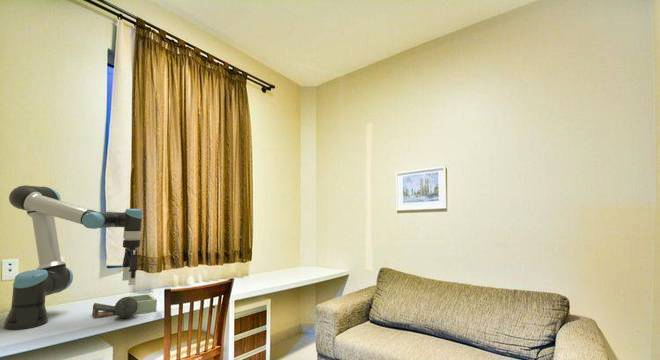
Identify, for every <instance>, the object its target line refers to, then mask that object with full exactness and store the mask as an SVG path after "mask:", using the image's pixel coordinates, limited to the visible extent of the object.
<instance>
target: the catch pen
mask: <svg viewBox="0 0 660 360" xmlns="http://www.w3.org/2000/svg"><path fill="white" fill-rule="evenodd" d="M127 297H132V298H134V299H135V300H136V301H137V303H138V308H137V311H136V312H135V314H134V315H141V314H147V313H153V312H154V313H155V312H157V301H158V299H157V298H156V297H155V296H153V295H151V294H150V293H145V294H136V295H130V296H127ZM134 315H133V316H134Z"/></svg>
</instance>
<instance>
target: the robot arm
mask: <svg viewBox="0 0 660 360" xmlns="http://www.w3.org/2000/svg"><path fill="white" fill-rule="evenodd" d="M8 200H9V201H8V202H9V203H10V204H11V206H12V207H14V208H15V209H18V210H23V211H26V215H27V216H28V217H30V218H31V219H32V225H33V227H32V228H33V231H34V238H35V244H36V252H37V257H38V267H37V268H35V269H31V270H26V271H23V272H20V273H18V274H17V275H15V277H14V280H13V284H12V286H13V287H12V297H11V306H10V307H11V308H10V310H9V313H8V314H7V317H5V320H4V323H3V324H4V325H3V328H4V329H5V330H23V329H31V328H35V327H39V326H42V325H45V324H47V323H48V321H49V314H48V311H47V308H46V304H45V303H46V297H47V296H49V295H54V294H57V293H60V292H63V291H64V290H65V291H66V289H68V288H69V287H70V286H71V284H72V282H73V280H74V274H73V272H72V270H71V269H70V268H68V267H67V264H66V262H64V261H62V258H61V257H62V256H61V252H60V246H59V245H60V244H59V239H58V233H57V226H56V220H55V217H56V218H58V219H61V220H62V219H63V220H66V221H70V222H72V223H73V222H74V223H76V224H80V225H83V226H84V227H85V228H87V229H90V230H91V229H93V230H95V229H96V230H97V229H103V228H123V238H122V239H123V240H122V247H123V248H124V255H123V260H122V267H123V269H122V278H121V279H122V280H121V281H123V282H124V281H128V286H134V285H135V286H136V276H137V271H138V270H139V269H138V250H136V248H140V246H141V240H140V239H141V235H143V233H142V223H143V222H142V221H143V220H142V219H143V210H142V209H139V208H126V209H125V211H124V212H121V211H120V212H119V211H96V210H93V209H90V208H86V207H84V206H79V205H75V204H73V203H68V202H65V201H63V200H61V195H60V194H59V192H58V191H57V190H56V189H54V188H51V187H48V186H37V185H28V184H27V185H19V186H17V187H15V188H13V189H12V190H11V192H9V195H8Z"/></svg>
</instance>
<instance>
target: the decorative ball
mask: <svg viewBox="0 0 660 360" xmlns="http://www.w3.org/2000/svg"><path fill="white" fill-rule="evenodd" d="M114 306H115V308H114V311H115V314H116V315H117V317H118V318H121V319H128V318H130V317H133V316H134V314H135V312H136V311H137V308H138V303H137V301H136V300H135V299H134V298H132V297H128V296H124V297H121V298H120V299H119V300H118V301H116V303H115V305H114ZM135 315H136V314H135Z"/></svg>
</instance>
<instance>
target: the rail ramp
mask: <svg viewBox="0 0 660 360" xmlns="http://www.w3.org/2000/svg"><path fill="white" fill-rule="evenodd" d="M114 308H115V305H109V304H103V303H97V302H94V303H93V306H92V313H91V315H92V317H93V319H100V318H101V319H103V318H109V317H115V316H117V315H116V314H115V311H114ZM117 317H118V316H117Z"/></svg>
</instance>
